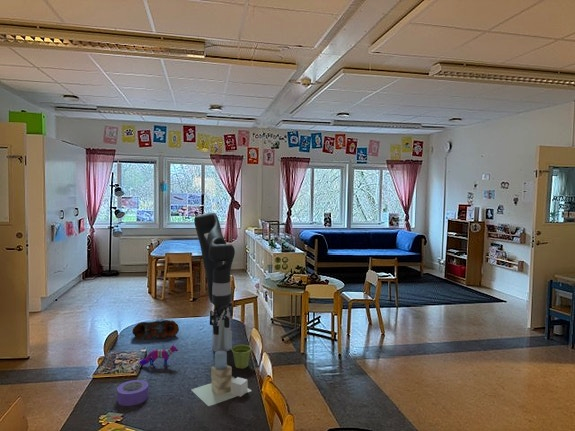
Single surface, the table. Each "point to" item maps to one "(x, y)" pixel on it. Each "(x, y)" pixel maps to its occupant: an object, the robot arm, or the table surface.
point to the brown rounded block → (155, 329)
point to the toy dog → (159, 355)
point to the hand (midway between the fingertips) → (221, 330)
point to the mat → (212, 394)
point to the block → (239, 386)
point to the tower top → (221, 374)
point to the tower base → (221, 387)
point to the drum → (220, 360)
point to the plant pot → (241, 355)
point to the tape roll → (132, 392)
